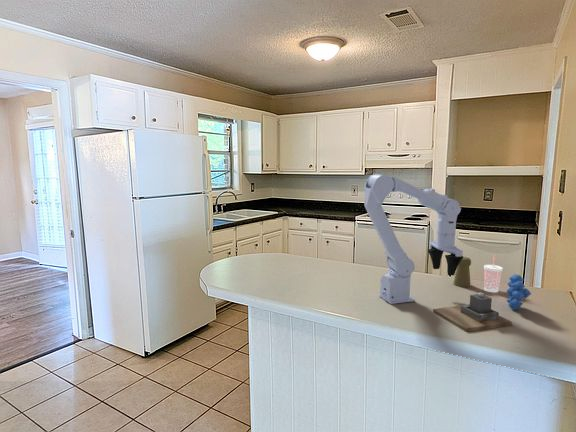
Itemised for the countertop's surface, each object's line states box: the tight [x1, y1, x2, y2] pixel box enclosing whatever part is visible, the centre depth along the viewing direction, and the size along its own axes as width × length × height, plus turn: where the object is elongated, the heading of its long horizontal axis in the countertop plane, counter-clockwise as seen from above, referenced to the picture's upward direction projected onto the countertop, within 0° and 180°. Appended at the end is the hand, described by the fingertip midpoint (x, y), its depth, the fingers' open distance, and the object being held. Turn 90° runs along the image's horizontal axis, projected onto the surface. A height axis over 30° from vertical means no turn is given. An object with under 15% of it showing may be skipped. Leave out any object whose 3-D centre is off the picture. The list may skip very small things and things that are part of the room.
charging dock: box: [432, 303, 513, 333], centre depth 108 cm, size 16×14×3 cm
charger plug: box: [469, 292, 493, 314], centre depth 107 cm, size 4×4×7 cm
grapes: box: [505, 274, 532, 311], centre depth 113 cm, size 12×7×12 cm, turn 157°
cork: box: [453, 256, 472, 288], centre depth 137 cm, size 6×6×11 cm
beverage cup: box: [483, 253, 504, 293], centre depth 131 cm, size 6×6×14 cm
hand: (443, 271), depth 124 cm, fingers open, 7 cm apart
